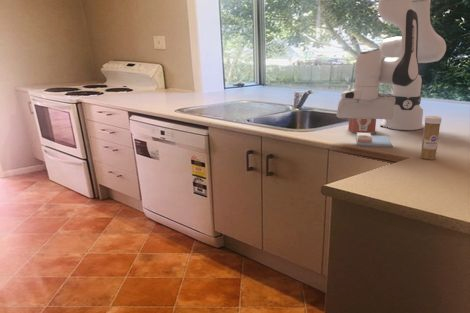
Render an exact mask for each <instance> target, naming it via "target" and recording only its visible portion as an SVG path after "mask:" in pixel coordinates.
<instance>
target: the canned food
mask: <svg viewBox="0 0 470 313" xmlns="http://www.w3.org/2000/svg"><path fill="white" fill-rule="evenodd" d="M359 122H360V124H361V125H366V123H367V119H362V118H361V121H359ZM376 127H377V119H371V122H370V124H369V125H368V126H367V130H359V124H358V123H357V118H348V128H347V131H348V130H349V131H348V132H350V131H351V133H356V134H357V133H370V134H373V133H375V132H376Z"/></svg>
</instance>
